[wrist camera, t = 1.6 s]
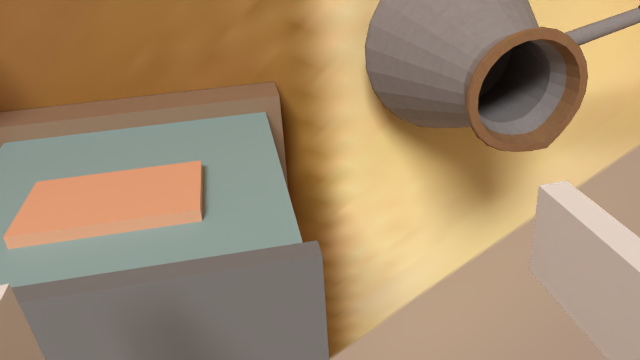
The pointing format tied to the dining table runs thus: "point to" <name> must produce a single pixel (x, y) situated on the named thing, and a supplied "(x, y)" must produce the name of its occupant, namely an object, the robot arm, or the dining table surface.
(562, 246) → the robot arm
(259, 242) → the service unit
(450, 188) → the dining table surface
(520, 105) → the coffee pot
